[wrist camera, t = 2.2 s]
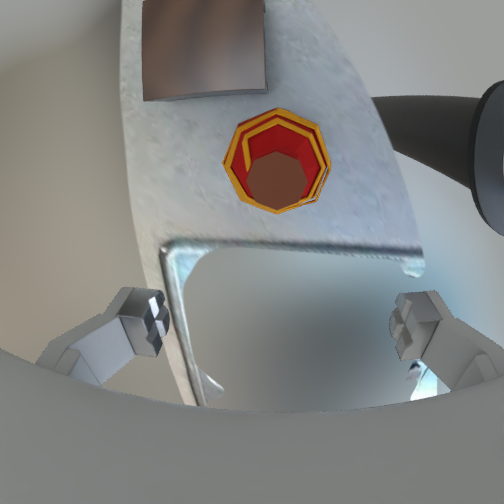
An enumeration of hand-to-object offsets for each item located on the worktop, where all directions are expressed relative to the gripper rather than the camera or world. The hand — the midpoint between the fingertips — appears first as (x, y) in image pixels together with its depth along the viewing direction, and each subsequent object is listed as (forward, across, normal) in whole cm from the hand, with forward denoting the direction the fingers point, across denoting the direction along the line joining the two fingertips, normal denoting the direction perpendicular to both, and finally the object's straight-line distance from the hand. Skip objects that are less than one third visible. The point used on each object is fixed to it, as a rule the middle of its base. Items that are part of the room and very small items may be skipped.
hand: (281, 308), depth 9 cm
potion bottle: (+26, 0, -1) cm, 27 cm away
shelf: (+26, +7, -14) cm, 31 cm away
